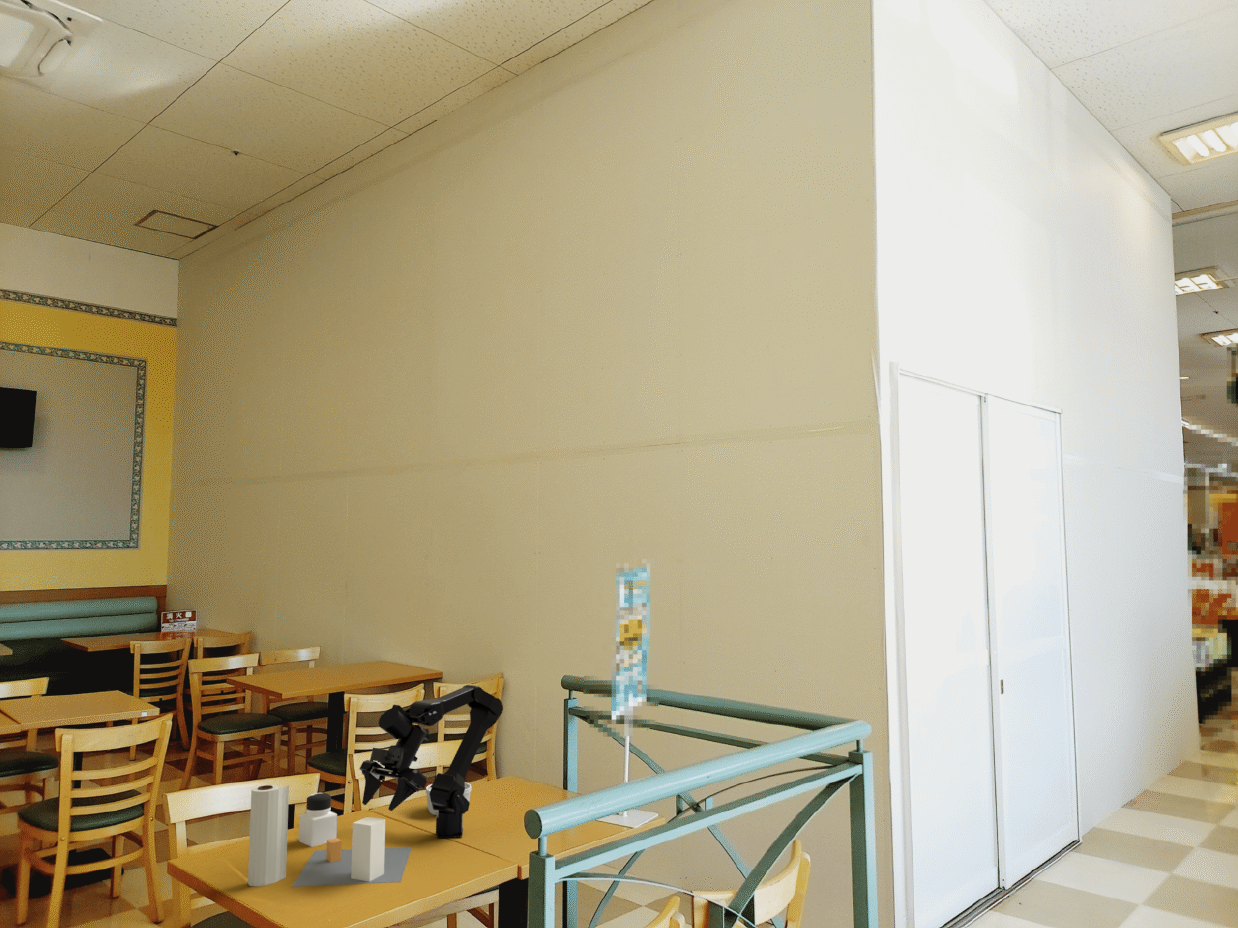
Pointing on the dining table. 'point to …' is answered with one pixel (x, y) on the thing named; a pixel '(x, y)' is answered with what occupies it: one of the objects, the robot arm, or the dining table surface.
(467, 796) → the ramekin
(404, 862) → the mat
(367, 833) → the tall white pillar
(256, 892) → the dining table surface
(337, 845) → the orange block
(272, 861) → the paper towel roll
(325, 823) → the medicine bottle
